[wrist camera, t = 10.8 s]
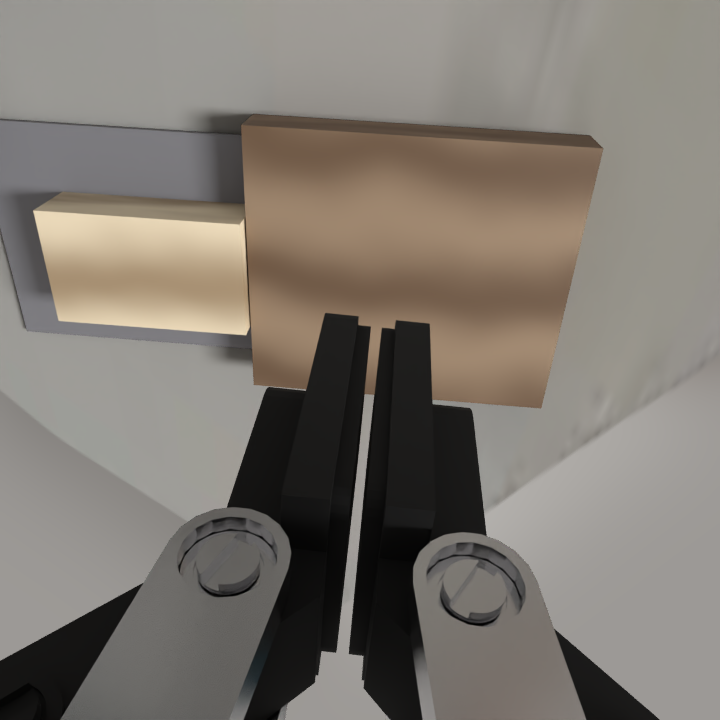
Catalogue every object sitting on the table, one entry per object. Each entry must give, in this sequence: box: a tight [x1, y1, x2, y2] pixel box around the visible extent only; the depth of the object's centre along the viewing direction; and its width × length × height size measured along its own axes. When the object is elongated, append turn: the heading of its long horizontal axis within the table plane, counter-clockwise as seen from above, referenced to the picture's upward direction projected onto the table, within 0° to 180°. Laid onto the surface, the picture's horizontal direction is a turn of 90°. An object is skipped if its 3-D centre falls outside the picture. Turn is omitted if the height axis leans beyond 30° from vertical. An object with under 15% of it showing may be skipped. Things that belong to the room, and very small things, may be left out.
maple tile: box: [33, 192, 251, 335], centre depth 33 cm, size 6×10×3 cm, turn 87°
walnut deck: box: [241, 114, 603, 408], centre depth 33 cm, size 14×16×2 cm
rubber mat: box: [0, 119, 252, 349], centre depth 35 cm, size 12×14×1 cm
